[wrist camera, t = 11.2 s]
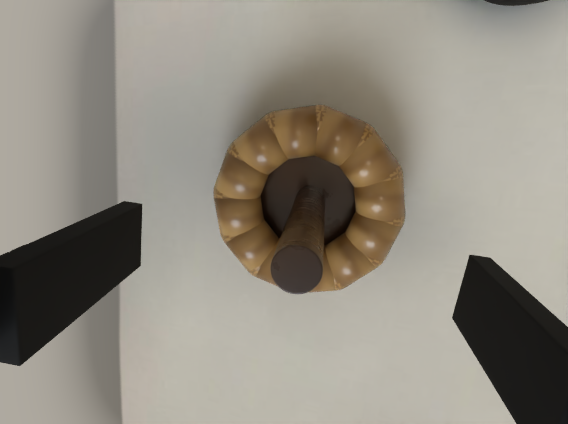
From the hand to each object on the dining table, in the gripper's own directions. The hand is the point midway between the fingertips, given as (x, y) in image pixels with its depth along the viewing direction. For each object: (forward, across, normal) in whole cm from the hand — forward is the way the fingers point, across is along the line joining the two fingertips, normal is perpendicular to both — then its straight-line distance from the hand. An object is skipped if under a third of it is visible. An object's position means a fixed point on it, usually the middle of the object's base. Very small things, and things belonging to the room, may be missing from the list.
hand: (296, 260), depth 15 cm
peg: (+12, 0, 0) cm, 12 cm away
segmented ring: (+10, 0, 0) cm, 10 cm away
